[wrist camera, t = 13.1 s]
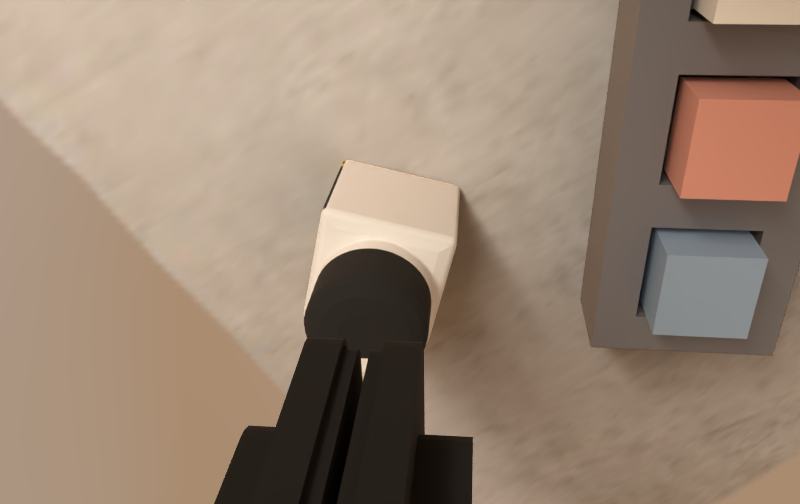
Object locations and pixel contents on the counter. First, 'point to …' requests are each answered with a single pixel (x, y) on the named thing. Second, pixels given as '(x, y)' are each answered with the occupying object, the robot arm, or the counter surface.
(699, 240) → the slate-blue key
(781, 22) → the off-white key
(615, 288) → the key panel
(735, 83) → the terracotta key
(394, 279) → the medicine bottle
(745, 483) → the counter surface
